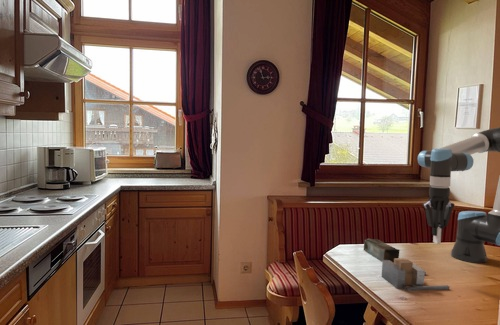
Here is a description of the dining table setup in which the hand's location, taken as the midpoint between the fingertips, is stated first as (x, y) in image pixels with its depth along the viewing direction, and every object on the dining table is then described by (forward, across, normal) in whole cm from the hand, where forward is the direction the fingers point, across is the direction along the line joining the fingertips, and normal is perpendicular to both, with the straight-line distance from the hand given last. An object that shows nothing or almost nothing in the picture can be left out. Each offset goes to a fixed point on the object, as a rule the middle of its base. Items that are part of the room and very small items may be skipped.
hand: (436, 243), depth 155 cm
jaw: (+14, +13, +4) cm, 20 cm away
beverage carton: (+15, +10, -28) cm, 33 cm away
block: (+14, +17, +4) cm, 23 cm away
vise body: (+14, +12, +4) cm, 19 cm away
